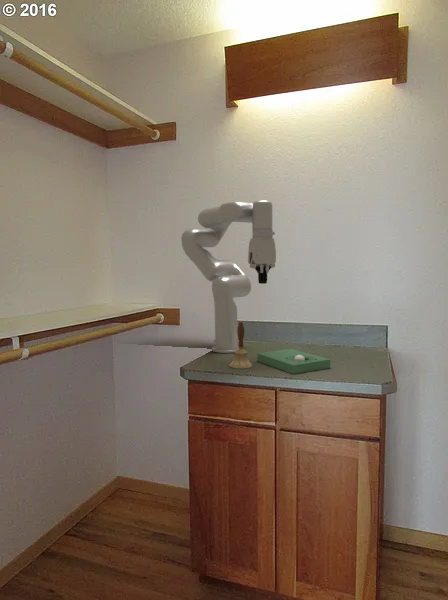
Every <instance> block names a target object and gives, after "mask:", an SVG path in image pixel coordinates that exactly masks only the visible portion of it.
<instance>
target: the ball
mask: <svg viewBox="0 0 448 600" xmlns="http://www.w3.org/2000/svg"><path fill="white" fill-rule="evenodd" d="M294 360H298V361H305V358H304V356H302V355H297V356H295V358H294Z"/></svg>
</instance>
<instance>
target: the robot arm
mask: <svg viewBox="0 0 448 600" xmlns="http://www.w3.org/2000/svg"><path fill="white" fill-rule="evenodd" d="M197 222H198V224H199V225H200V226H201V227H203V228H201V227H199V228H198V227H193V228H188V229H186V230H184V232H183V233H182V234H181V242H180V243H181V247H182V250H183V252H184V254H185V255H186V256H187V258H188V259H189V260H190V261H192V262H193V264H194V265H195V266H196V268H197V269H198V270H199V271H200V273H201V275H203V276H204V278H205V279H206V280H207V281H209V282H211V292H212V297H213V304H214V340H213V343H214V346H212V347H211V351H212V352H213V353H222V354H223V353H224V354H231V353H233V354H234V353H235V351H236V350H238V349H239V338H238V334H237V329H238V308H237V307H238V306H237V305H236V302H235V300H234V298H236V299H237V298H243V297H246V296H248V295H249V294H250V292H251V290H252V283H251V281H250V279H249V277H248V276H247V274H245V272H244V271H243V270H242V269H241V267H239V265H238V264H237V263H235V262H234V261H232V260H228V259H217V258H216V257H215V256H213V254H212V252H210V251H209V250H207V249H206V248H214V247H216V246H218V244H219V243H220V242H221V240H222V238H223V237H224V235H225V234H226V232H227V231H228V229H229V226H230V225H231V224H232V223H248V224H249V223H251V224H252V225H251V226H252V228H251V229H252V230H251V231H252V236H251V238H250V239H249V244H248V250H247V251H248V254H247V255H248V256H247V262H248V265H249V268H250V269H254V270H255V272H256V273H257V274H258V276H257V277H258V279H257V281H258V284H261V285H262V284H263V285H264V284H267V283H268V273H269V272H270V270H271V269H274V268H275V267H276V261H277V251H276V244H275V238H274V237H273V236H275V231H273V203H272V202H271V201H270V200H256V201H254V202H246V201H231V202H230V201H229V202H226V203H222V204H221V205H220V206H216V207H209V208H205V209H202V210H201V211H200V212H199V213H198V217H197Z"/></svg>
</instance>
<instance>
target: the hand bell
mask: <svg viewBox="0 0 448 600" xmlns="http://www.w3.org/2000/svg"><path fill="white" fill-rule="evenodd" d="M237 337H238V346H239V349H238V350H236V351H235V352H234V356H233V359H232V362H230V364H229V365H228V366H229V367H230V368H232V369H237V370H243V369H244V370H245V369H250V368H252V367H253V364H252V363H251V362H250V360H249V356H248V351H247V350H245V349H244V337H245V326H244V323H243V322H242V321H239V322H238V324H237Z"/></svg>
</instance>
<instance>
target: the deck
mask: <svg viewBox="0 0 448 600" xmlns="http://www.w3.org/2000/svg"><path fill="white" fill-rule="evenodd" d="M256 355H257V356H256V357H257V358H256V359H257V360H256V362H259V363H260V364H265V365H267V366H270V367H271V368H275V369H278V370H280V371H284V372H287V373H289V374H292V375H296V374H302V373H308V372H314V371H319V370H325V369H326V370H328V369H330V368H331V359H330V358H326V357H323V356H319V355H316V354H312V353H308V352H304V351H301V350H297V349H293V348H288V349H280V350H273V351H272V350H271V351H265V352H258V353H257V354H256ZM297 355H302V356H304V358H305V361H298V360H294V358H295V356H297Z"/></svg>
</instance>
